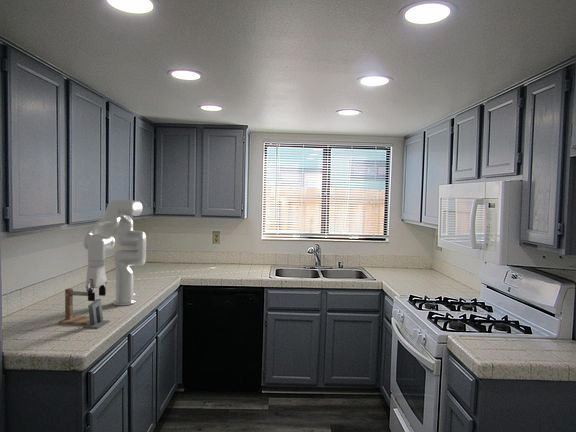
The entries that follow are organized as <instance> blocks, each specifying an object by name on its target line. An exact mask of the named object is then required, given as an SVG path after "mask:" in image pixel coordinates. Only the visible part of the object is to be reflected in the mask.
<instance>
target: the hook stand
mask: <svg viewBox="0 0 576 432" xmlns="http://www.w3.org/2000/svg"><path fill="white" fill-rule="evenodd" d="M73 296H81V297H88V293H87V291H78V290H77V291H74V288H66V289H65V290H64V297H65V298H64V302H65V303H64V309H65V310H64V314H65V315H64V317H65V318H63V319H61V320H59V321H58V325H73V326H74V325H75V326H76V325H77V326H85V325H87V324H88V323H90V318H89V315H88V316H87V315H86V316H85V315H74V313H73V312H74V311H73V310H74V309H73V307H74V305H73V303H74V299H73Z"/></svg>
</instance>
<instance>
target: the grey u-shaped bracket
mask: <svg viewBox="0 0 576 432" xmlns="http://www.w3.org/2000/svg"><path fill="white" fill-rule="evenodd" d="M87 307H88V316H89V318H90V325H95V324H96V323H97V322H102V321H103V320H104V315H103V314H104V313H103V308H102V307H103V306H102V299H101V298H100V299H99V298H95V301H91V303H90V304H88V306H87Z"/></svg>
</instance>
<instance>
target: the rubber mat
mask: <svg viewBox="0 0 576 432" xmlns="http://www.w3.org/2000/svg"><path fill="white" fill-rule="evenodd" d="M108 323H110V320H107V319H106V320H105V319H103V321H102V322H97V323H96V324H95V325H90V323H88V324H87V325H82V329H100V328H102V327H103V326H105V325H107V324H108Z"/></svg>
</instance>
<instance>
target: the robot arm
mask: <svg viewBox="0 0 576 432" xmlns="http://www.w3.org/2000/svg"><path fill="white" fill-rule="evenodd" d="M142 212H143V204H142V202H141V201H139V200H131V199H113V200H111V201H109V202H108V204H107V207H106V209H105V212H104V213H103V216H102V219H100V220H98V221H97V222H94V224H92V225H91V226H90V227H89V228H88V229H87V231H86V233H85V236H84V239H83V247H84V248H85V250H86V251H87V270H86V283H85V288H86V292H87V293H88V296H87V301H88V302H94V301H95V300H96V292H95V290H96V289H97V288H98V297H99V296H100V297H101V296H103V297H105V296H106V294H107V291H106V290H107V289H106V288H107V280H108V277H107V276H106V274H107V273H106V251H111V250H113V249H114V248H115V245H116V239H115V238H114V236H112V235H107V234H105V235H101V234H103V233H105V232H109V231H112V230H114V229H117V230H116V232H117V234H116V238H117V244H118V246H120V247H123V248H122V249H121V248H120V249H118V250H116V251H115V252H114V254H113V261H114V266H115V300H113V301H112V304H113V305H114V306H122V307H123V306H131V305H134V304H136V303H137V299H134V297H136V293H135V292H134V272H133V269H132V268H131V266H137V267H138V266H141V267H142V266H144V265H145V263H146V261H147V235H146V232H144V231H143V230H134V221H133V219H132V218H131V216H133V217H134V216H136V217H137V216H140V215H141V214H142ZM125 247H127V248H125Z"/></svg>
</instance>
